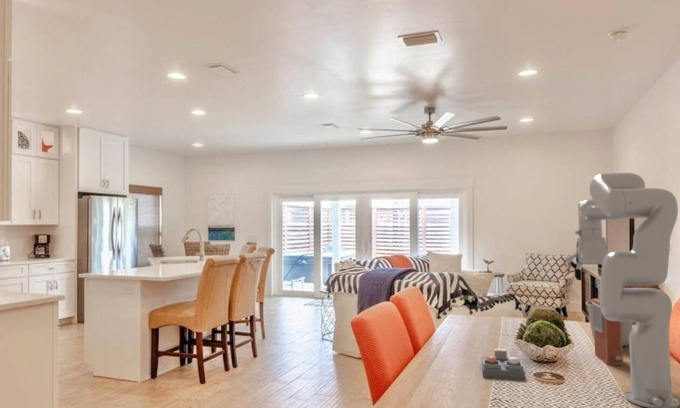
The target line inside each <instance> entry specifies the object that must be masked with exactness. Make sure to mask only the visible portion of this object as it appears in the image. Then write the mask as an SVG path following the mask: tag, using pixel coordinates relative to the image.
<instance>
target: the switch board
mask: <svg viewBox="0 0 680 408" xmlns="http://www.w3.org/2000/svg"><path fill="white" fill-rule="evenodd" d="M491 356H495V354H492V355H491ZM509 357H510V356H509V355H507V360H501V359H496V360H497V362H496V363H489V362H487V356H481V369H482V370H481V371H482V377H484V378H495V379H496V378H497V379H511V380H523V381H524V380H525V379H526V374H525V373H526V371H525V370H524V365H523V363H522V361H521V359H520V358H518V359H519V364H510V363H508V358H509Z"/></svg>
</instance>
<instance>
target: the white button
mask: <svg viewBox="0 0 680 408" xmlns="http://www.w3.org/2000/svg"><path fill="white" fill-rule="evenodd" d="M519 359H520V358H518V357H515V356H509V358H508V363H510V364H519Z"/></svg>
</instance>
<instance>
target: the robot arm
mask: <svg viewBox="0 0 680 408" xmlns="http://www.w3.org/2000/svg"><path fill="white" fill-rule="evenodd" d="M589 193H590V196H591V198H590V199H589V198H588V199H584V200H582V201H579V202H578V204H577V208H578V209H577V212H578V229H577V230H575V232H574V233H575V235H578V237H577V239H576V245H575V246H576V247H575V252H574V253H572V254H571V255H569V256H567V257H566V260H567V262H568V264H569V266H571V267H572V269H574V278H575V279H576V280H578V281H581V280H582V270H581V267H582V266H583V265H601V274H600V293H599V294H600V296H599V298H600V307H601V312H602V314H603V316H604V317H605V318H606V319H607V320H609V321H615V322H633V323H635V324H634V326H632V330H631V332H630V336H629V344H628V345H629V349H628V350H629V365H630V367H629V370H630V389H629V390H626V391H625V394H624V395H625V399H626V400H627V401H629V402H630V403H632V404H635V405H638V406H640V407H645V408H679V407H680V402H679V400H678V399H677V398H676V397H675V396H672V394H673V393H672V380H671V379H672V378H671V377H672V375H671V353H670V352H671V351H670V323H671V318H672V313H673V303H672V300H671V297H670V296H669V294H667V293H666V292H665V291H663V290H661V289H658V288H654V287H653V288H652V287H626V286H658V285H662V284H664V283H665V281H666V280H667V277H668V271H669V262H670V260H669V259H670V247H671V237H672V233H673V230H674V227H675V225H676V222H677V219H678V215H679V214H678V212H679V207H678V201H677V198H676V197H675V195H674V194H673V192H671V191H670V190H667V189H664V188H655V187H653V188H652V187H646V182H645V180H644V179H643V177H641V176H640V175H638V174H636V173H633V172H612V173H599V174H596V175H595V176H594V177H593V178H592V179H591V181H590V183H589ZM622 219H645V220H644V221H643V222H642V223H641V224H640V225H639V227H638V228H637V229H636V230H635V232H634V234H633V236H632V238H633V239H632V241H633V243H632V248H631V250H629V251H625V250H624V251H621V250H620V251H612V252H609V251H608V247H607V241H606V238H605V237H603V229H602V228H603V226H602V225H603V223H602V221H605V220H607V221H608V220H610V221H611V220H612V221H615V220H622ZM573 259H575V261H576V262H574V261H573Z"/></svg>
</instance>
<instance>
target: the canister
mask: <svg viewBox="0 0 680 408" xmlns="http://www.w3.org/2000/svg"><path fill="white" fill-rule="evenodd" d="M593 299H594V298H592V299H589V300H588V301H585V305H586V306H587V311H588V316H589V317H588V318H589V324H590V330H591V335H592V339H593V340H594V341H595V337H594V328H593V315H592V303H593ZM596 299H600V297H599V298H596ZM633 323H634V322H622V325H621V329H622V347H625V346H628V345H629V336H630V332H631V330H632V329H633Z"/></svg>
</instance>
